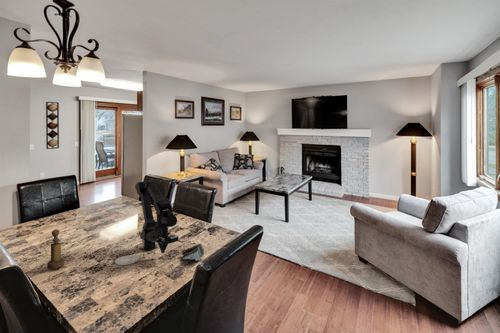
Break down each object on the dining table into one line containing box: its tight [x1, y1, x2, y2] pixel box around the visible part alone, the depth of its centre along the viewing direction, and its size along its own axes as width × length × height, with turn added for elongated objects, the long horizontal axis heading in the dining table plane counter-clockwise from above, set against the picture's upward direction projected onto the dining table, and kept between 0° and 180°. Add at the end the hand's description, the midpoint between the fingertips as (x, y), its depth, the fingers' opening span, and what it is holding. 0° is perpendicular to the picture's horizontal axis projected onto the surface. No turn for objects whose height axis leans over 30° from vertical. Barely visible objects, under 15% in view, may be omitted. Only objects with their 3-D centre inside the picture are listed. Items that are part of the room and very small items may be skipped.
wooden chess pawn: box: [46, 228, 65, 270], centre depth 121 cm, size 7×6×18 cm
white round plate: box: [114, 254, 140, 266], centre depth 128 cm, size 11×11×1 cm
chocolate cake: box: [181, 243, 205, 261], centre depth 130 cm, size 10×7×12 cm
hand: (162, 253), depth 131 cm, fingers closed
